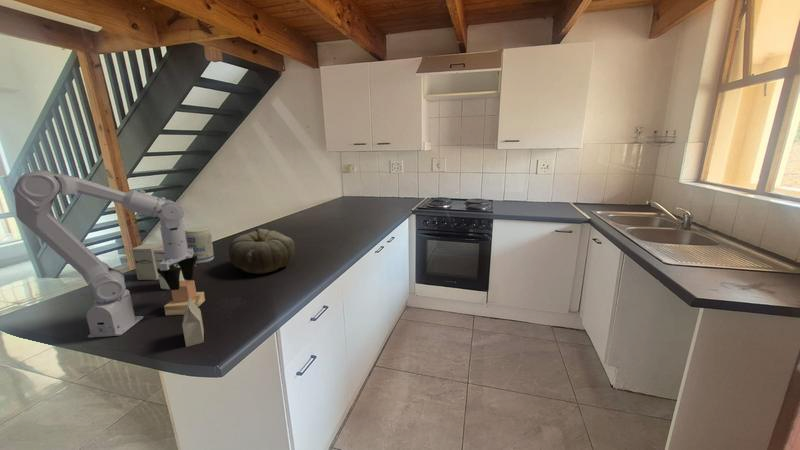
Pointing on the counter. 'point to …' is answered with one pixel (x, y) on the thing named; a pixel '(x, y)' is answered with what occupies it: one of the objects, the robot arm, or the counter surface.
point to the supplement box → (146, 261)
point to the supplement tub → (200, 243)
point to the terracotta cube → (184, 291)
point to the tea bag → (192, 325)
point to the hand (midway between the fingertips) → (182, 284)
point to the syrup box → (159, 257)
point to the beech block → (183, 305)
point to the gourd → (261, 251)
